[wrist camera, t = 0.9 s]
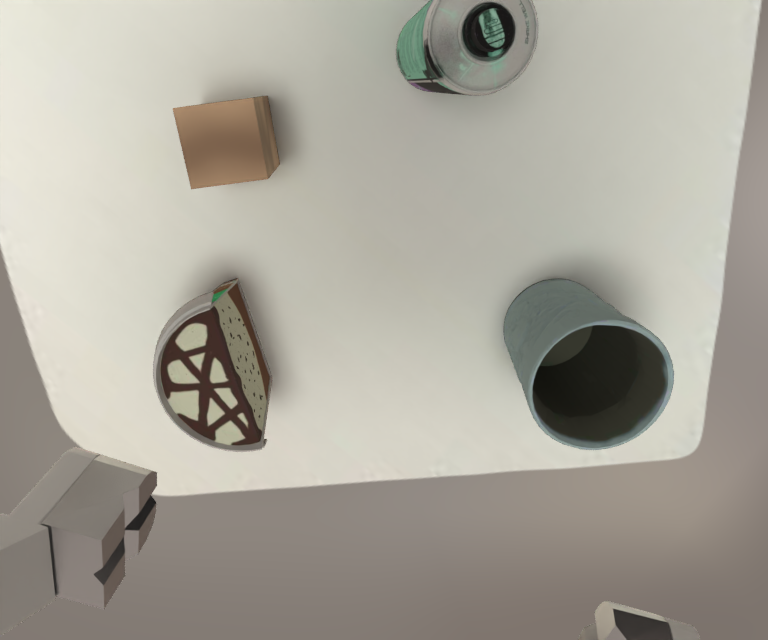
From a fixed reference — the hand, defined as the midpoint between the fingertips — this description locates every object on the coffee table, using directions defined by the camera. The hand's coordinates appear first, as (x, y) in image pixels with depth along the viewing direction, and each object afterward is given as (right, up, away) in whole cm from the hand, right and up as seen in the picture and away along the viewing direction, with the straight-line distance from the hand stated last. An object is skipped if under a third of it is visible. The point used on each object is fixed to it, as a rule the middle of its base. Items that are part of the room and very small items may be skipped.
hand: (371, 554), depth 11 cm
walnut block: (-11, +18, +36) cm, 42 cm away
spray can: (+4, +24, +35) cm, 42 cm away
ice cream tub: (-14, +3, +42) cm, 44 cm away
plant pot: (+15, +4, +43) cm, 46 cm away
